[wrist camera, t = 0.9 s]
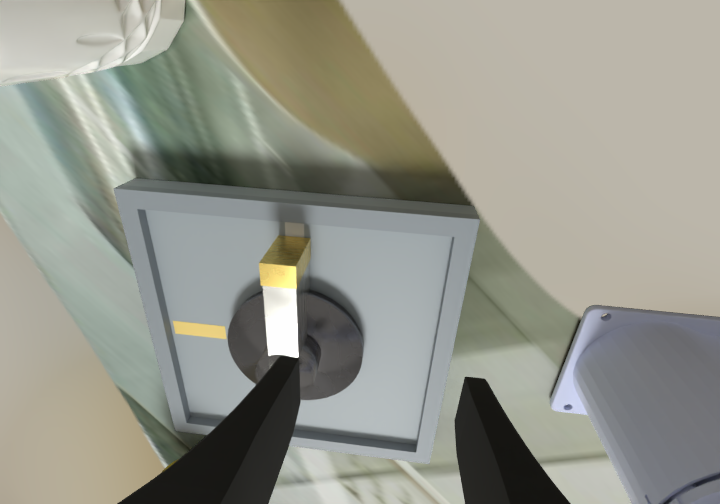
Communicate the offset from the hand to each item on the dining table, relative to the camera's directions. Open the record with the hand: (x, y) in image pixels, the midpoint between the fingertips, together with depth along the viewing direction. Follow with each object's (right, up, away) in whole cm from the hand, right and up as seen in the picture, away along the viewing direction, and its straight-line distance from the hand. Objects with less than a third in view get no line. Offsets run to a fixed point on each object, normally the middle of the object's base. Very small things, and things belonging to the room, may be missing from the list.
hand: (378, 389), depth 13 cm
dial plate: (-4, 0, +12) cm, 13 cm away
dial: (-4, 0, +10) cm, 11 cm away
